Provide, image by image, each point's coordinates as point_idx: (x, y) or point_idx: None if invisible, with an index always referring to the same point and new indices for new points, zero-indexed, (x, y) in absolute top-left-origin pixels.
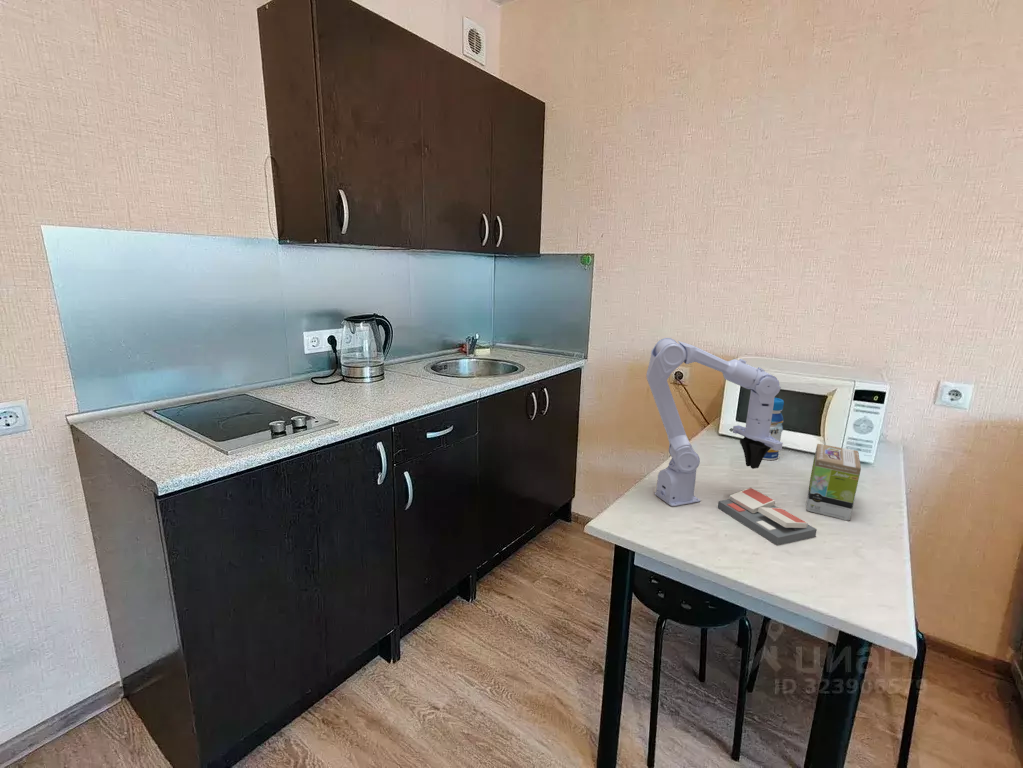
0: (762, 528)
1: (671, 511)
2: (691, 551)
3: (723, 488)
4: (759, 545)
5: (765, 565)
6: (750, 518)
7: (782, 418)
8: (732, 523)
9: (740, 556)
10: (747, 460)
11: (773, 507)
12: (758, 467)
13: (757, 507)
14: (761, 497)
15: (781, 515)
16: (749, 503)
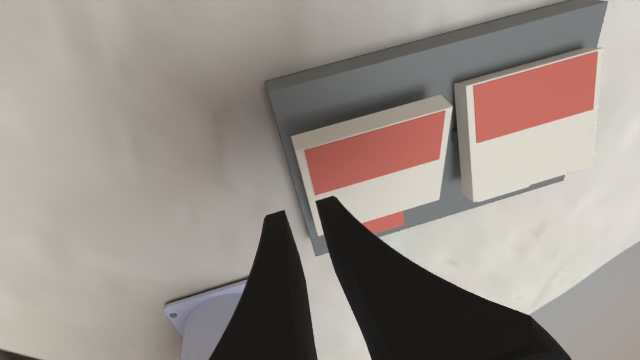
0: (506, 196)
1: (316, 341)
2: None
3: (115, 153)
4: (520, 208)
5: (577, 229)
6: (449, 206)
7: None
8: (408, 229)
9: (530, 261)
10: (307, 299)
11: (406, 73)
12: (336, 199)
13: (440, 184)
14: (399, 146)
15: (538, 141)
16: (403, 197)
